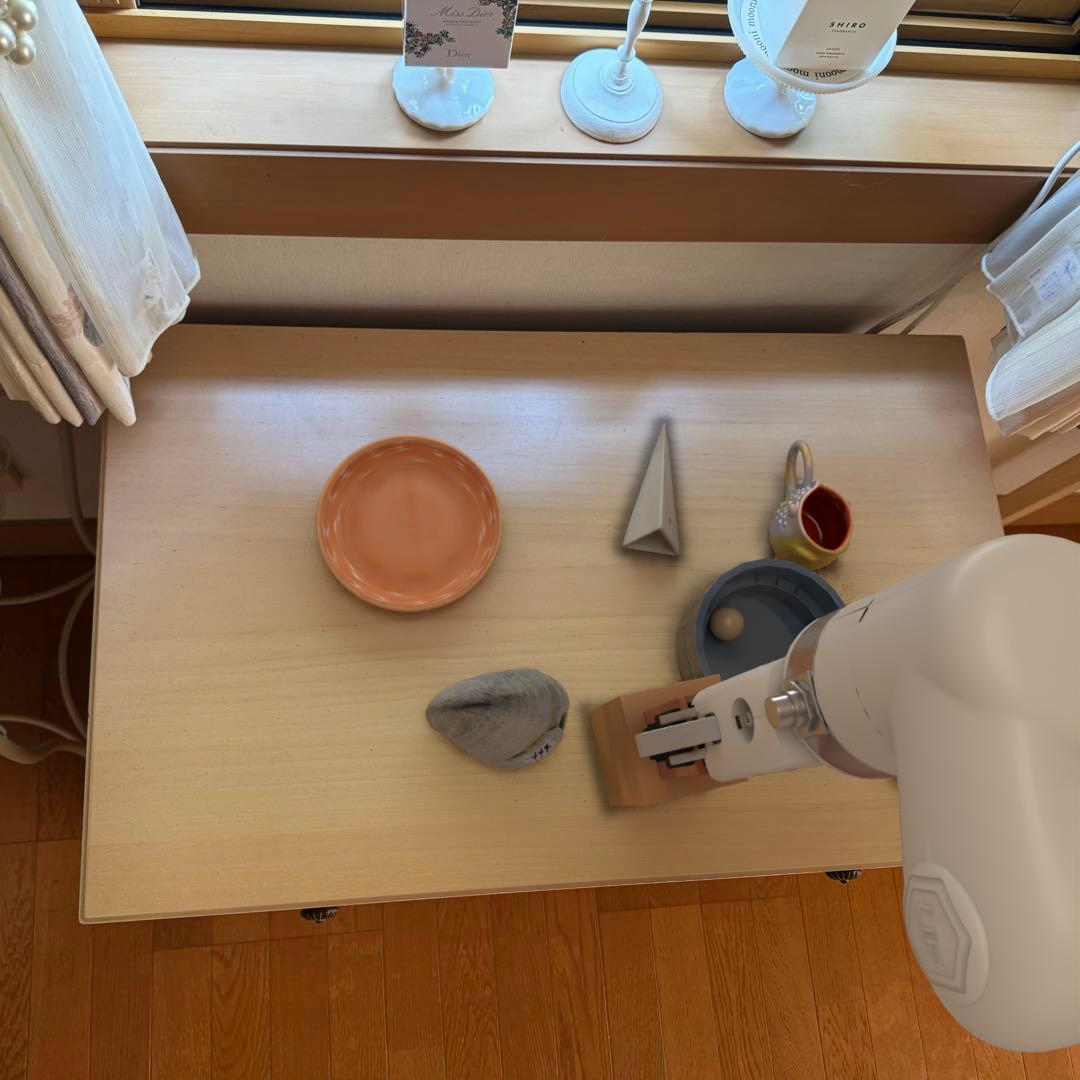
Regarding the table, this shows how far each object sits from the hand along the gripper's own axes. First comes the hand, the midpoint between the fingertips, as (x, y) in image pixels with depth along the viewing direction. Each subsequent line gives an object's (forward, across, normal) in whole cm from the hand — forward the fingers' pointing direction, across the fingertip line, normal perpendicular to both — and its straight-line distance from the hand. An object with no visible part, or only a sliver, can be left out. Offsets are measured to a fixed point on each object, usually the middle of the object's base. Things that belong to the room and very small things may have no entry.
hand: (738, 724), depth 55 cm
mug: (+24, +20, +18) cm, 36 cm away
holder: (+24, 0, 0) cm, 24 cm away
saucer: (+24, -16, +23) cm, 37 cm away
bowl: (+24, +12, +6) cm, 27 cm away
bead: (+21, +10, +9) cm, 25 cm away
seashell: (+24, -12, +5) cm, 27 cm away
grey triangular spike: (+24, +6, +23) cm, 34 cm away
